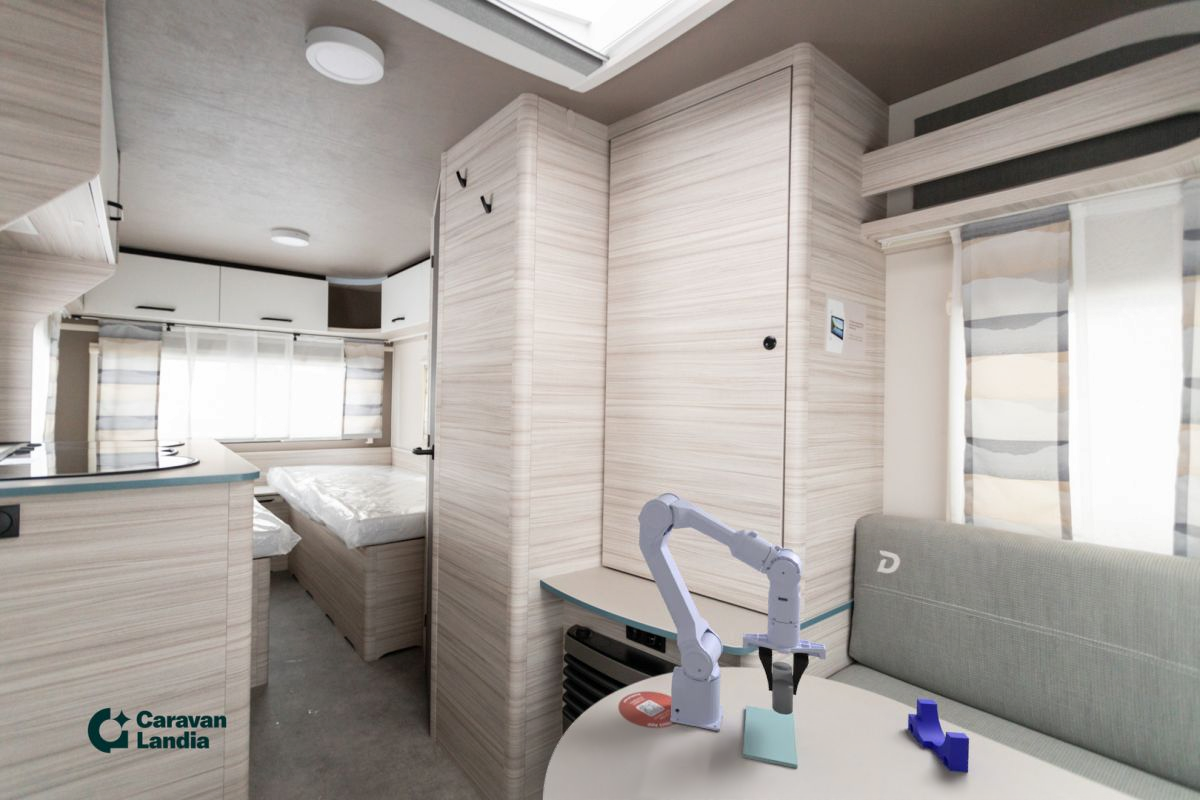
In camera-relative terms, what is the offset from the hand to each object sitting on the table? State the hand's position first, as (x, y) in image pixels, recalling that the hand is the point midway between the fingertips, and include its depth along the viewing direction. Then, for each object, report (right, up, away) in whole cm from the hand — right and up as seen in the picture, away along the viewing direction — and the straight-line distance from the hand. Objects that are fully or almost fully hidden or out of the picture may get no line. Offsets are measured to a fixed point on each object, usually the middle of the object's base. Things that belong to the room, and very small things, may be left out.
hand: (782, 690), depth 103 cm
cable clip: (+27, -10, -2) cm, 29 cm away
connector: (0, -2, 0) cm, 2 cm away
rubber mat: (-2, -9, +1) cm, 9 cm away
